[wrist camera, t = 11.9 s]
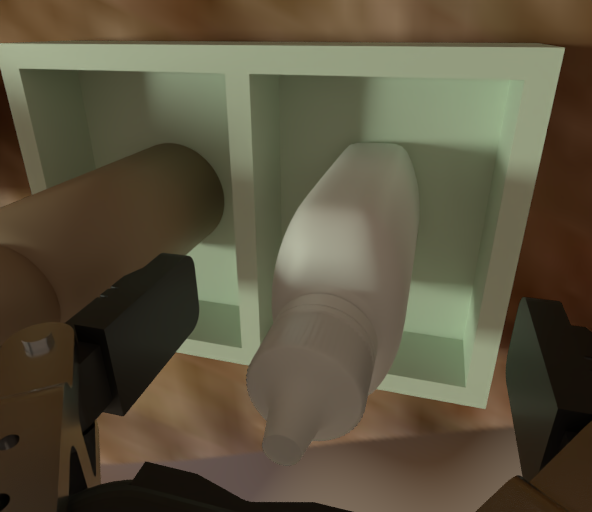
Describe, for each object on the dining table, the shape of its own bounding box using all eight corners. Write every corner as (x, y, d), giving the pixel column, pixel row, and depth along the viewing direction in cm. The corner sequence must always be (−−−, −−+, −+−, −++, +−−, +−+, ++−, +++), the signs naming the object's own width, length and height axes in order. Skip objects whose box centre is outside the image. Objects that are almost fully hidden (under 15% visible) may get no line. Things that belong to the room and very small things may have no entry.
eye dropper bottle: (294, 238, 20) (128, 468, 10) (362, 119, 17) (234, 260, 7) (383, 293, 20) (315, 586, 9) (467, 182, 17) (501, 423, 7)
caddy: (72, 40, 20) (-346, 55, 9) (538, 43, 16) (733, 76, 5) (118, 290, 25) (-119, 479, 15) (478, 345, 21) (512, 675, 10)
